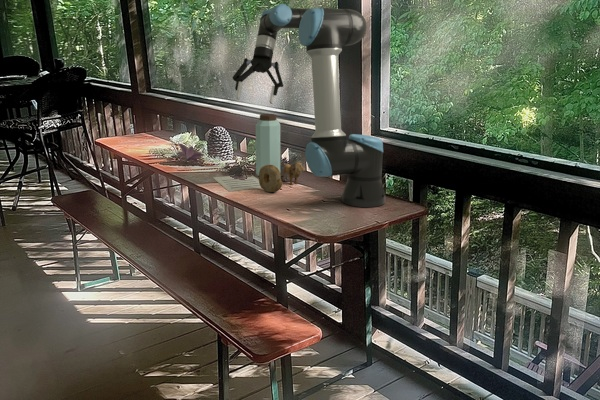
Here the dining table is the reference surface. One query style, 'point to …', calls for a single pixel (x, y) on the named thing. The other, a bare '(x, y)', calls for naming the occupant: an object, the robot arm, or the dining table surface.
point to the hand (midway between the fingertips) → (254, 100)
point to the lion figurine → (292, 172)
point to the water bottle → (267, 142)
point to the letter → (238, 183)
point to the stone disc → (270, 178)
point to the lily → (189, 153)
